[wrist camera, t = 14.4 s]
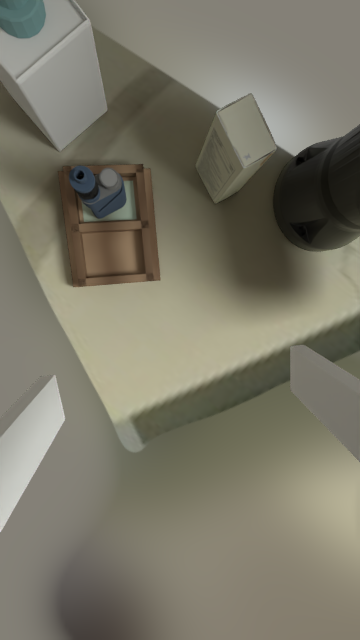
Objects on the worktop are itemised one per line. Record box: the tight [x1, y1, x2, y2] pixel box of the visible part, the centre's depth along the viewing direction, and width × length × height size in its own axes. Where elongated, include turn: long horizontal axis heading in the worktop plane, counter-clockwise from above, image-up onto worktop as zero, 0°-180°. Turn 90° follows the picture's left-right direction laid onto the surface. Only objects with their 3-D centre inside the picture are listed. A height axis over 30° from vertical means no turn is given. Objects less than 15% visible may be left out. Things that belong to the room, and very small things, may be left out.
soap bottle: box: [0, 0, 108, 151], centre depth 26 cm, size 9×9×19 cm
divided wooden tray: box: [58, 164, 160, 287], centre depth 37 cm, size 12×15×3 cm
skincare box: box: [195, 93, 277, 204], centre depth 34 cm, size 6×4×12 cm
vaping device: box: [69, 166, 127, 219], centre depth 31 cm, size 3×5×12 cm, turn 119°
